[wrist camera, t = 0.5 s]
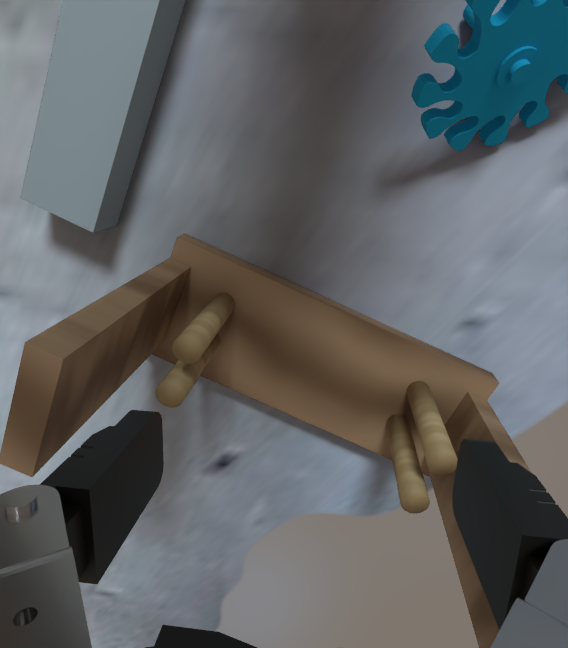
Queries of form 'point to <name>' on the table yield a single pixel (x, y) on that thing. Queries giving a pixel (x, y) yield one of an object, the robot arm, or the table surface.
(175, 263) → the stand
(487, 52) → the gear
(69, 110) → the grey rectangular block
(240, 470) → the table surface
